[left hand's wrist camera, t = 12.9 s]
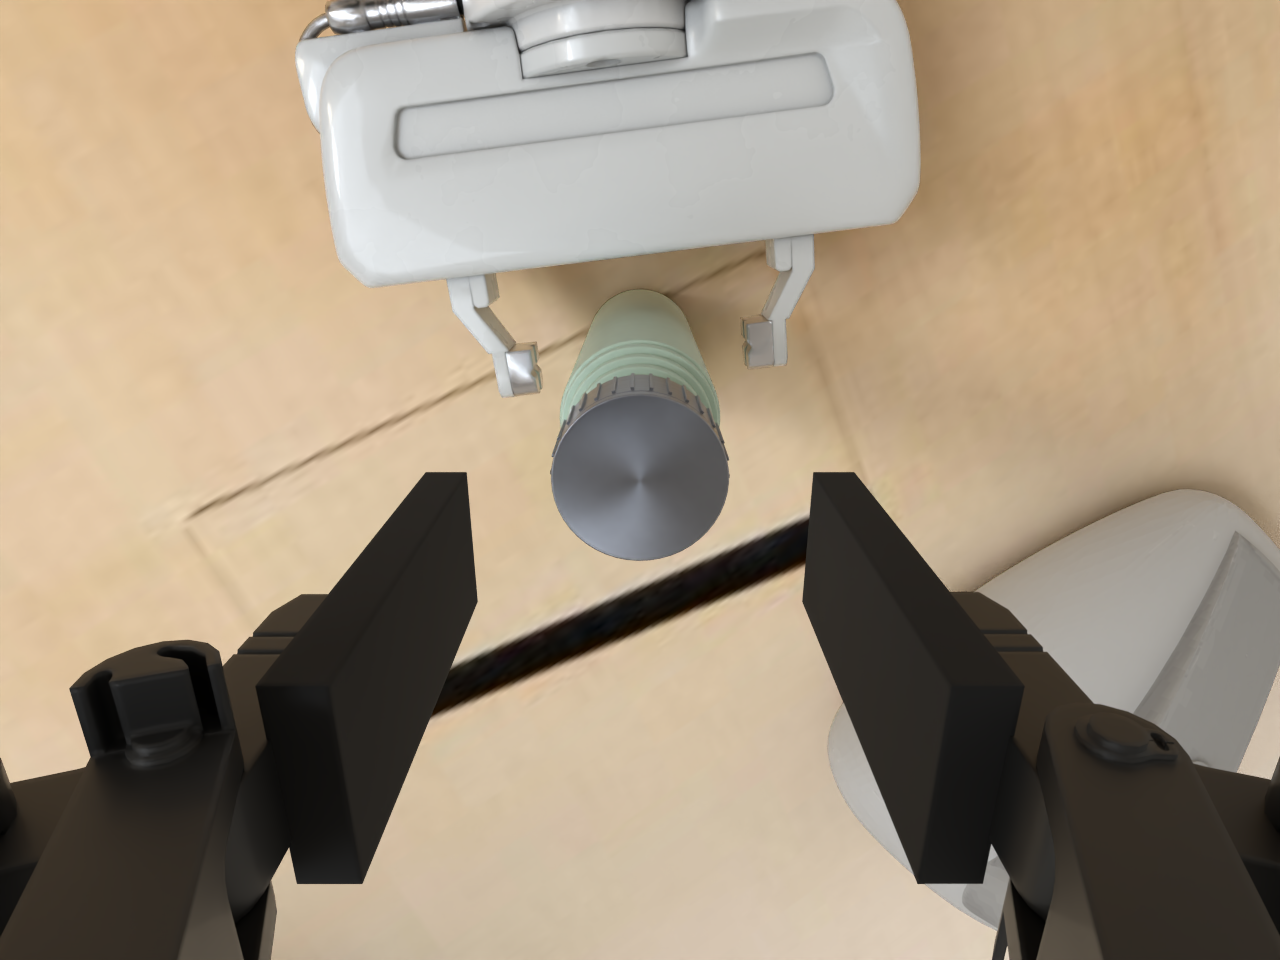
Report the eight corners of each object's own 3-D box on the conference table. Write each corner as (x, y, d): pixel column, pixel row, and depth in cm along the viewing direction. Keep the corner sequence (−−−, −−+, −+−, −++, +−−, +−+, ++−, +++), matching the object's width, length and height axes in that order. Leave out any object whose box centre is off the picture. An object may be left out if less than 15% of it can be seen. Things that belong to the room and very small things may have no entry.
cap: (556, 369, 18) (546, 389, 16) (727, 373, 18) (737, 393, 16) (559, 527, 20) (549, 561, 18) (717, 529, 20) (726, 564, 18)
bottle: (588, 287, 34) (536, 373, 17) (693, 290, 34) (747, 377, 17) (589, 390, 36) (541, 564, 18) (688, 392, 36) (734, 567, 18)
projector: (1203, 819, 44) (1455, 1095, 31) (815, 849, 45) (892, 1132, 31) (1273, 468, 37) (1652, 627, 23) (805, 513, 37) (901, 692, 24)
